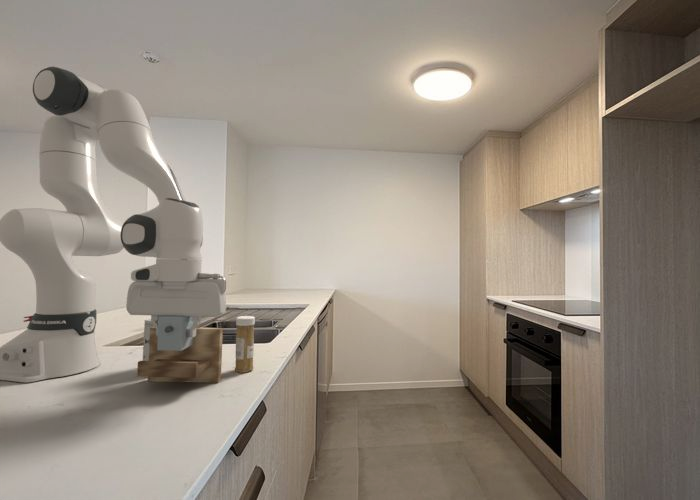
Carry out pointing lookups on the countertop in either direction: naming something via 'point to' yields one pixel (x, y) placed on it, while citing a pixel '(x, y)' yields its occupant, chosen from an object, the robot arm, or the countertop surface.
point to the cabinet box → (174, 333)
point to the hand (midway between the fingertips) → (176, 336)
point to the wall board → (185, 359)
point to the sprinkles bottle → (244, 343)
